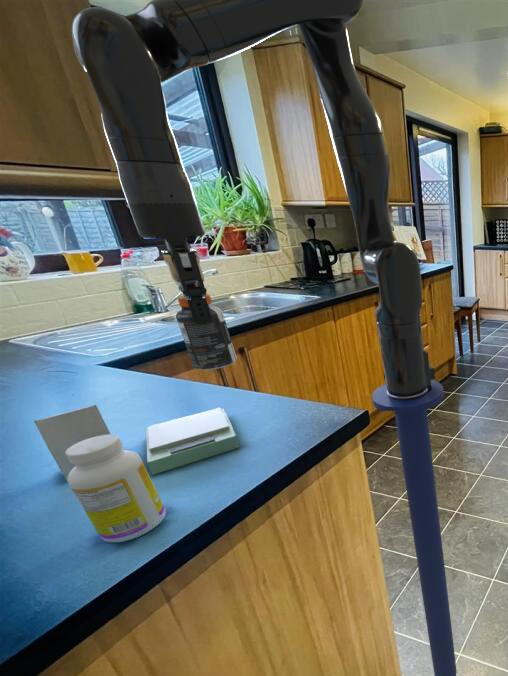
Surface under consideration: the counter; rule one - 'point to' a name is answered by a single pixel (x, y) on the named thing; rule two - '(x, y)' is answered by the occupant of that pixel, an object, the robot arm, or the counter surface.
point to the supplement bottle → (114, 488)
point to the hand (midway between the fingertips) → (201, 318)
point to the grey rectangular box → (70, 432)
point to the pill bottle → (206, 337)
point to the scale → (189, 440)
